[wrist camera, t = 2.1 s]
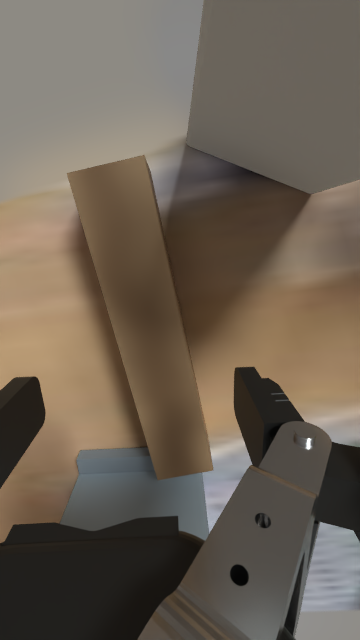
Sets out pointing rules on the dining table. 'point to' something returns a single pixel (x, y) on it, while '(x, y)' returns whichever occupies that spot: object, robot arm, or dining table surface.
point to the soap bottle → (280, 89)
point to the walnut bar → (144, 310)
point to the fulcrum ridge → (132, 492)
